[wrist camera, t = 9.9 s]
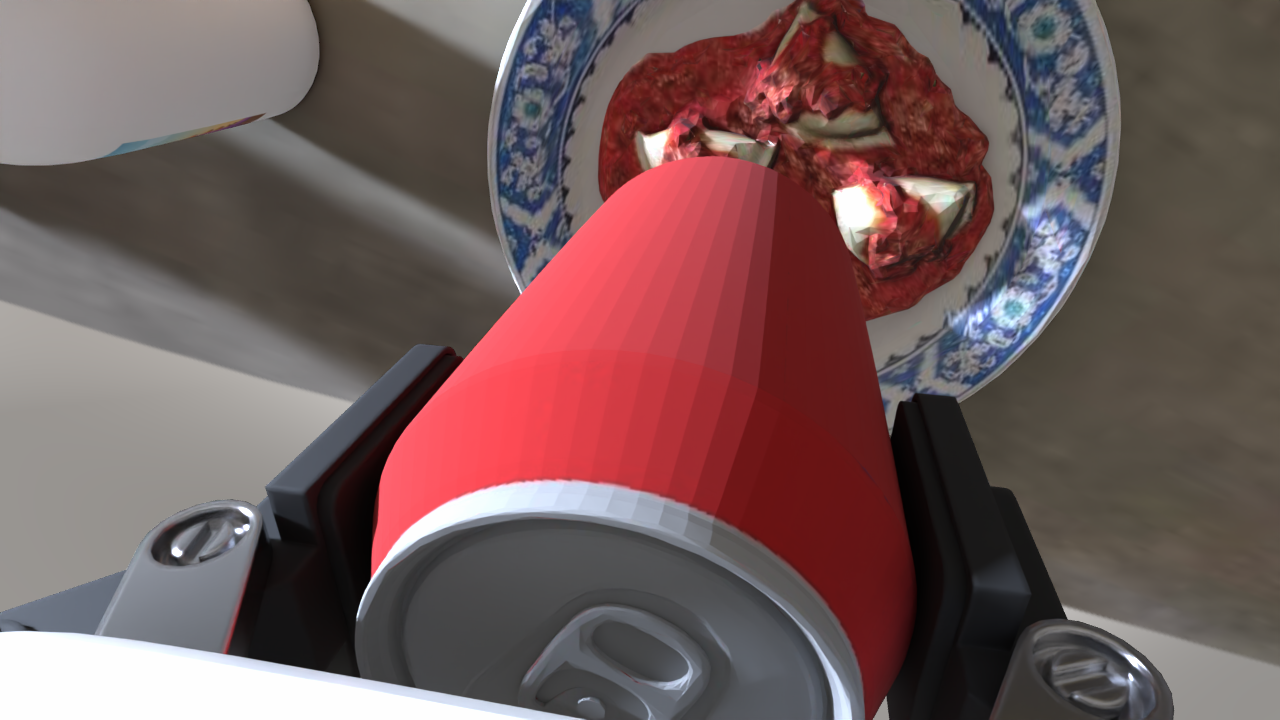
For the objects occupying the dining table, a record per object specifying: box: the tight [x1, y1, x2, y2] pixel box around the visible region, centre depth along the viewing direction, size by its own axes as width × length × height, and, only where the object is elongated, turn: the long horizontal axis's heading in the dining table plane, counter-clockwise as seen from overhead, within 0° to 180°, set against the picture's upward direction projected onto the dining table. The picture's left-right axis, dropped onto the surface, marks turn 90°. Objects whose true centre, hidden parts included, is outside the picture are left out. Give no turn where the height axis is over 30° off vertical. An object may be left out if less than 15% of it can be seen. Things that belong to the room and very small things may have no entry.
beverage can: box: [355, 156, 917, 720], centre depth 12 cm, size 7×7×12 cm
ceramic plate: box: [487, 0, 1121, 435], centre depth 31 cm, size 26×26×3 cm
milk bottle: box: [0, 0, 320, 165], centre depth 25 cm, size 8×8×20 cm
